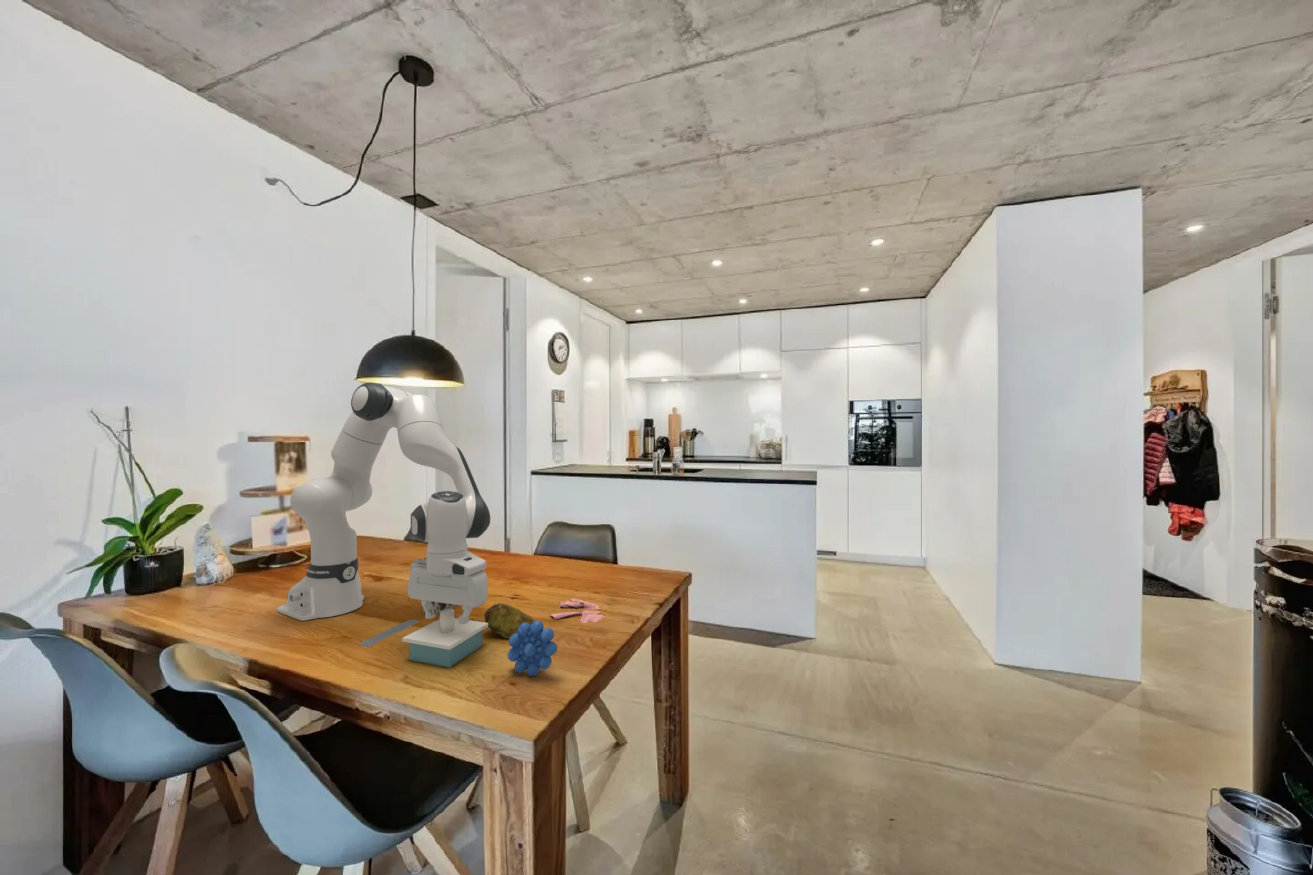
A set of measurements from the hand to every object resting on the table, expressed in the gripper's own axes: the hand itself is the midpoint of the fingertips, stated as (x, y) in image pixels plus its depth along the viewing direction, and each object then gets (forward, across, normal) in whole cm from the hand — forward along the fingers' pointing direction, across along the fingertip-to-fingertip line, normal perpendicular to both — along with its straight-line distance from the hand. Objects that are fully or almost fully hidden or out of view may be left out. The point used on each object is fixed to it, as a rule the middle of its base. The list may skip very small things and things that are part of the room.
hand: (446, 620), depth 109 cm
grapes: (+8, +24, -1) cm, 25 cm away
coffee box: (+8, -22, +23) cm, 33 cm away
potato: (+8, +8, +13) cm, 18 cm away
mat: (+8, -16, +5) cm, 19 cm away
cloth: (+9, +15, +34) cm, 38 cm away
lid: (+3, 0, 0) cm, 3 cm away
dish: (+8, 0, 0) cm, 8 cm away
